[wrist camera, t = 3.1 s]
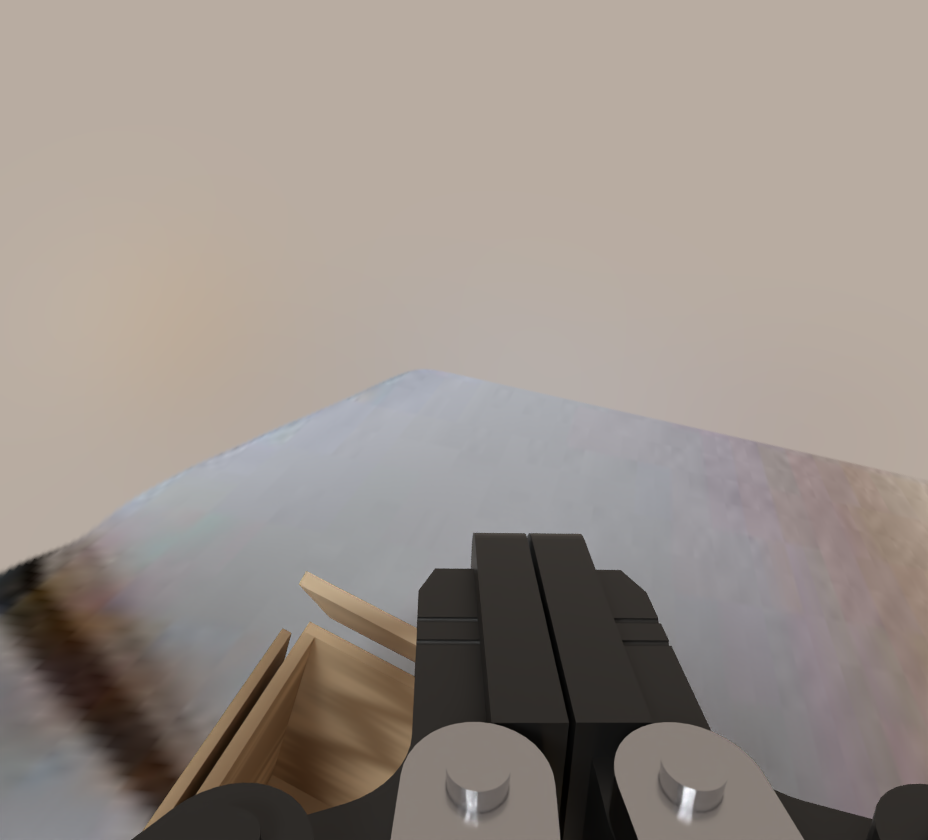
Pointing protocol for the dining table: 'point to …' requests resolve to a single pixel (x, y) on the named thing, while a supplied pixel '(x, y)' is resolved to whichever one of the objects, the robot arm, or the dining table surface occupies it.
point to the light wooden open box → (308, 726)
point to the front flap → (362, 616)
